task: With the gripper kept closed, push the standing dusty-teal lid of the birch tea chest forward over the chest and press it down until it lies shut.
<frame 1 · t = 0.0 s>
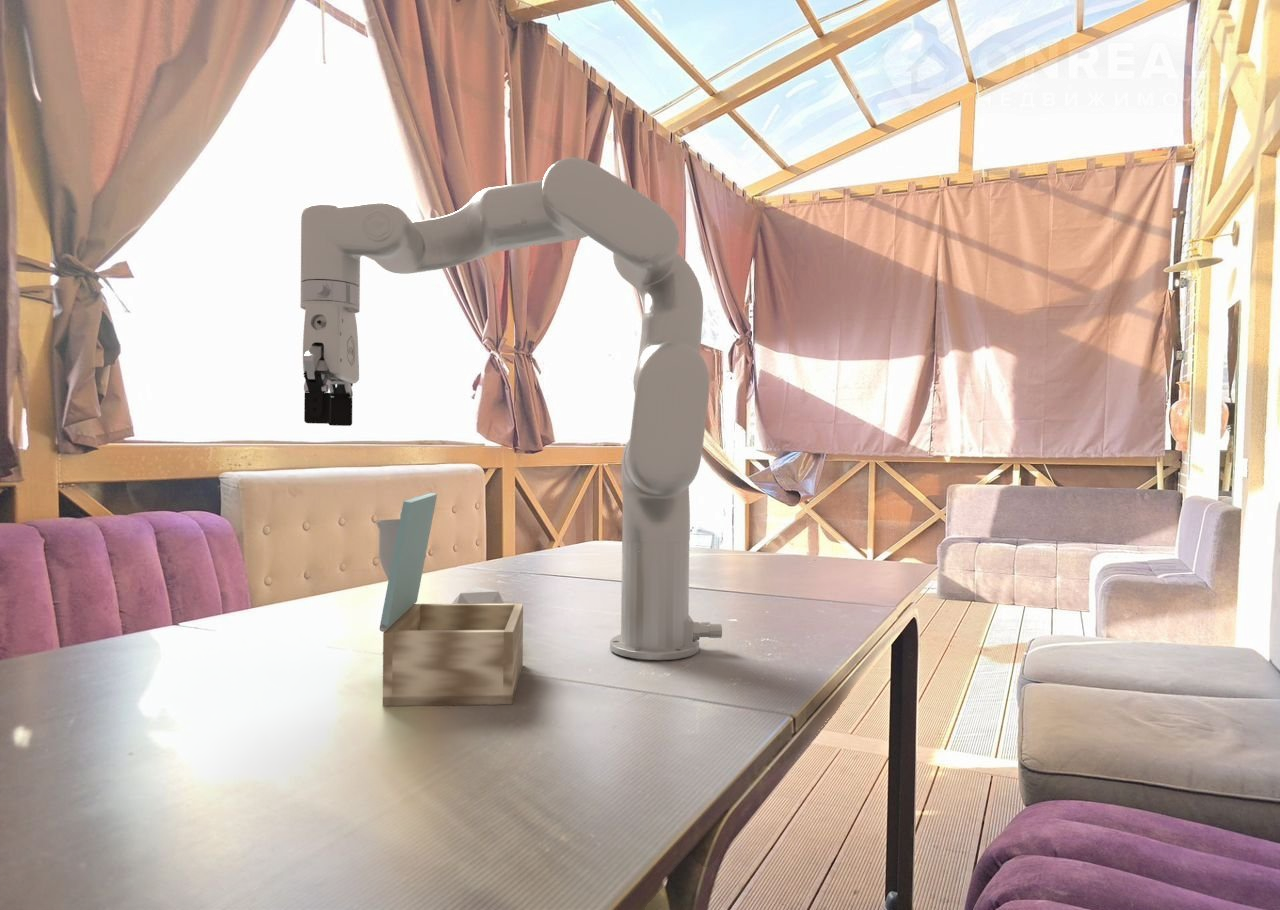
hand: (329, 424, 108), 31 cm above the table, fingers open, 9 cm apart
chest: (458, 683, 94), on the table
die: (478, 647, 112), on the table
lid: (407, 556, 94), point 15 cm above the table, hinge at 80.0°
chalice: (401, 653, 109), on the table
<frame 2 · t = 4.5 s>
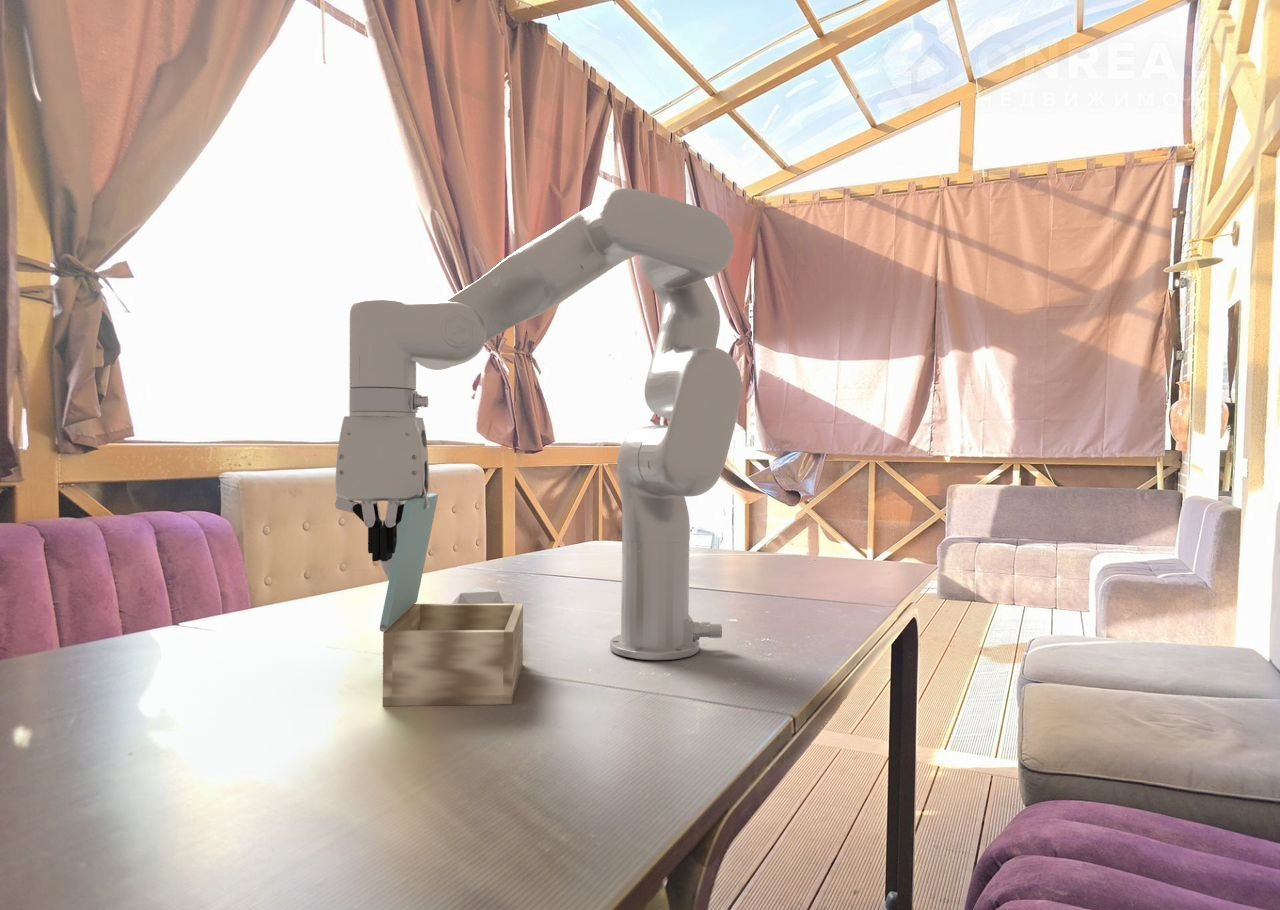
hand: (382, 559, 94), 15 cm above the table, fingers closed
lid: (407, 556, 94), point 15 cm above the table, hinge at 79.3°, touching gripper
everything else where it was.
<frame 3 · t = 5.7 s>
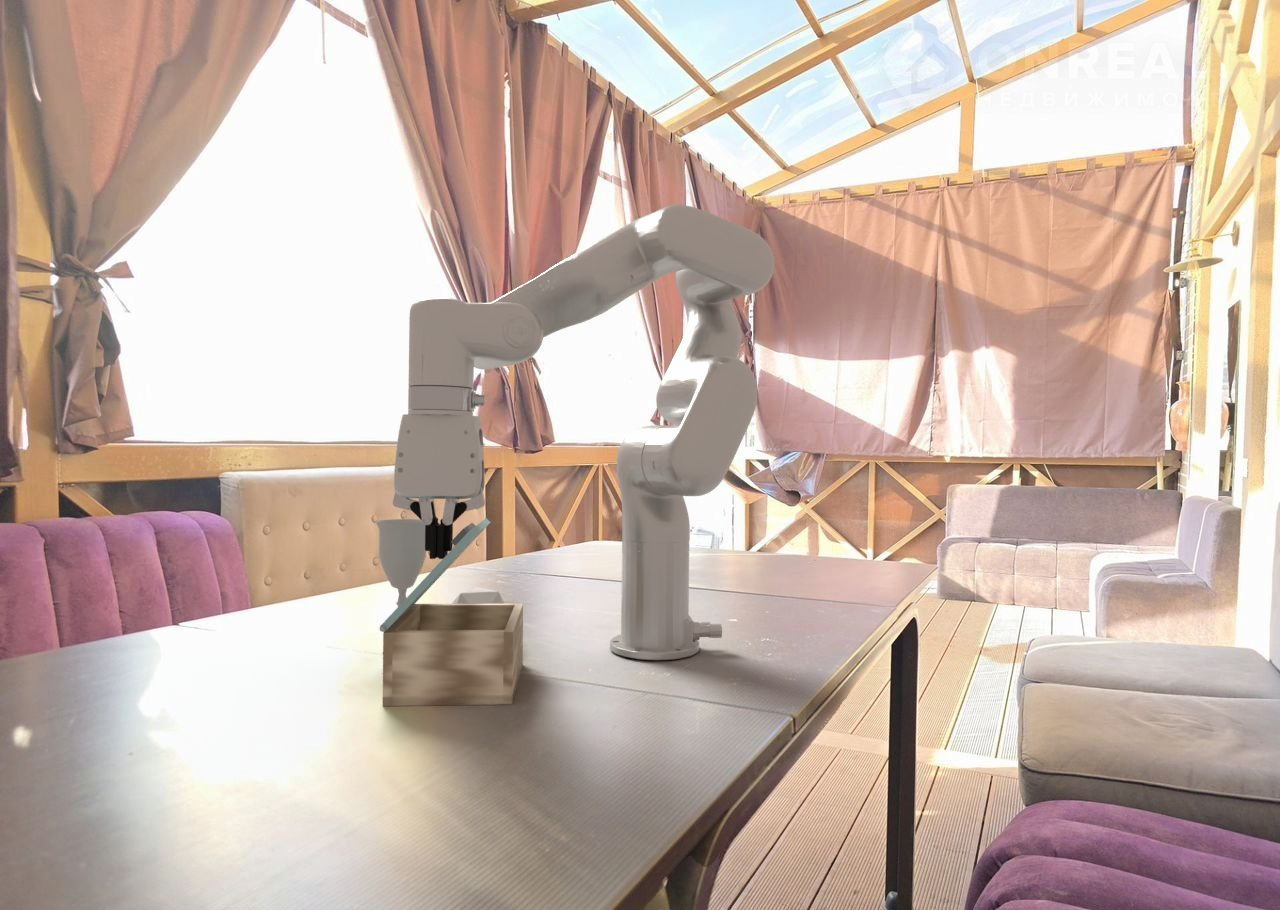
hand: (438, 557, 94), 15 cm above the table, fingers closed
lid: (436, 568, 94), point 14 cm above the table, hinge at 47.7°, touching gripper
everything else where it was.
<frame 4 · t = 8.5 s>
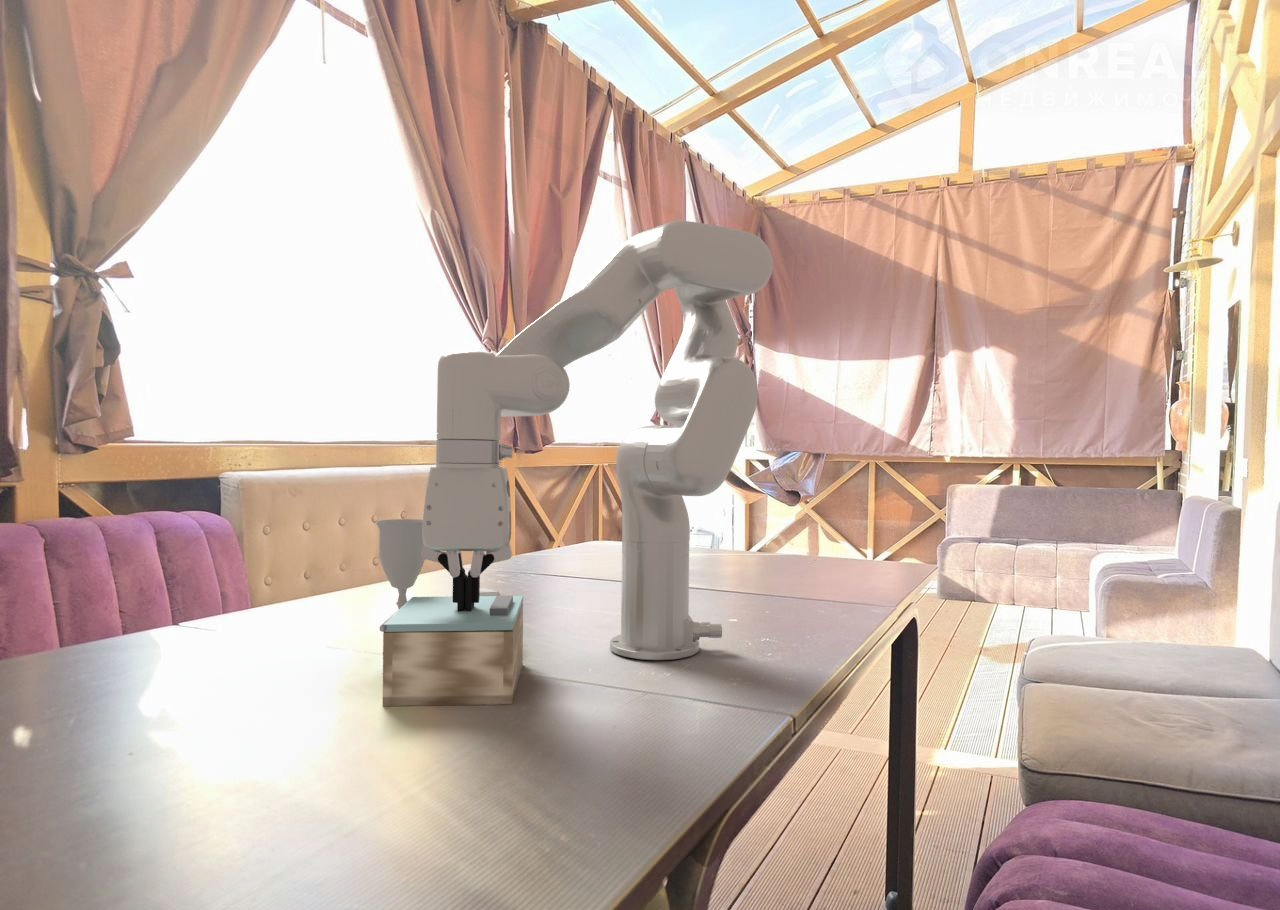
hand: (465, 608, 94), 9 cm above the table, fingers closed
lid: (457, 608, 94), point 9 cm above the table, hinge at 0.4°, touching gripper
everything else where it was.
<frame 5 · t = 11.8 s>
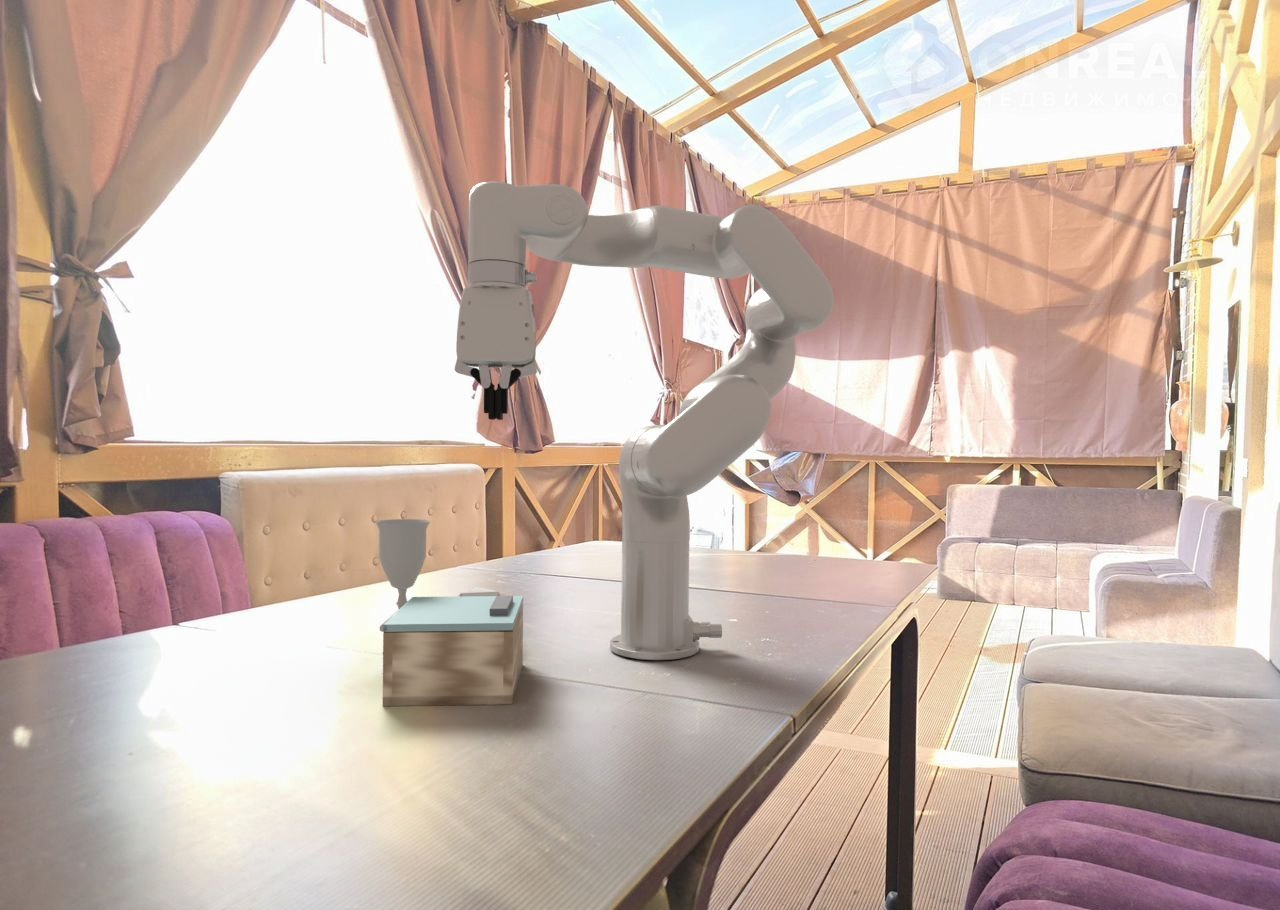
hand: (495, 419, 104), 32 cm above the table, fingers closed
lid: (457, 608, 94), point 9 cm above the table, hinge at 0.3°
everything else where it was.
at the end: lid at +0° (first picture: +80°); lid touching nothing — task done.
